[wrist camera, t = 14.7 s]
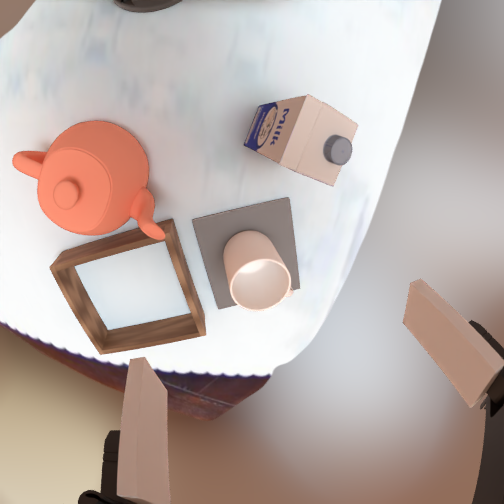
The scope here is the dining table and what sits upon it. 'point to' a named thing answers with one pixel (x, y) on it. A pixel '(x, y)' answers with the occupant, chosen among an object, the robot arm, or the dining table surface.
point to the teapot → (93, 180)
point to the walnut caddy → (136, 334)
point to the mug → (255, 272)
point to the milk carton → (303, 137)
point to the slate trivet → (238, 220)
